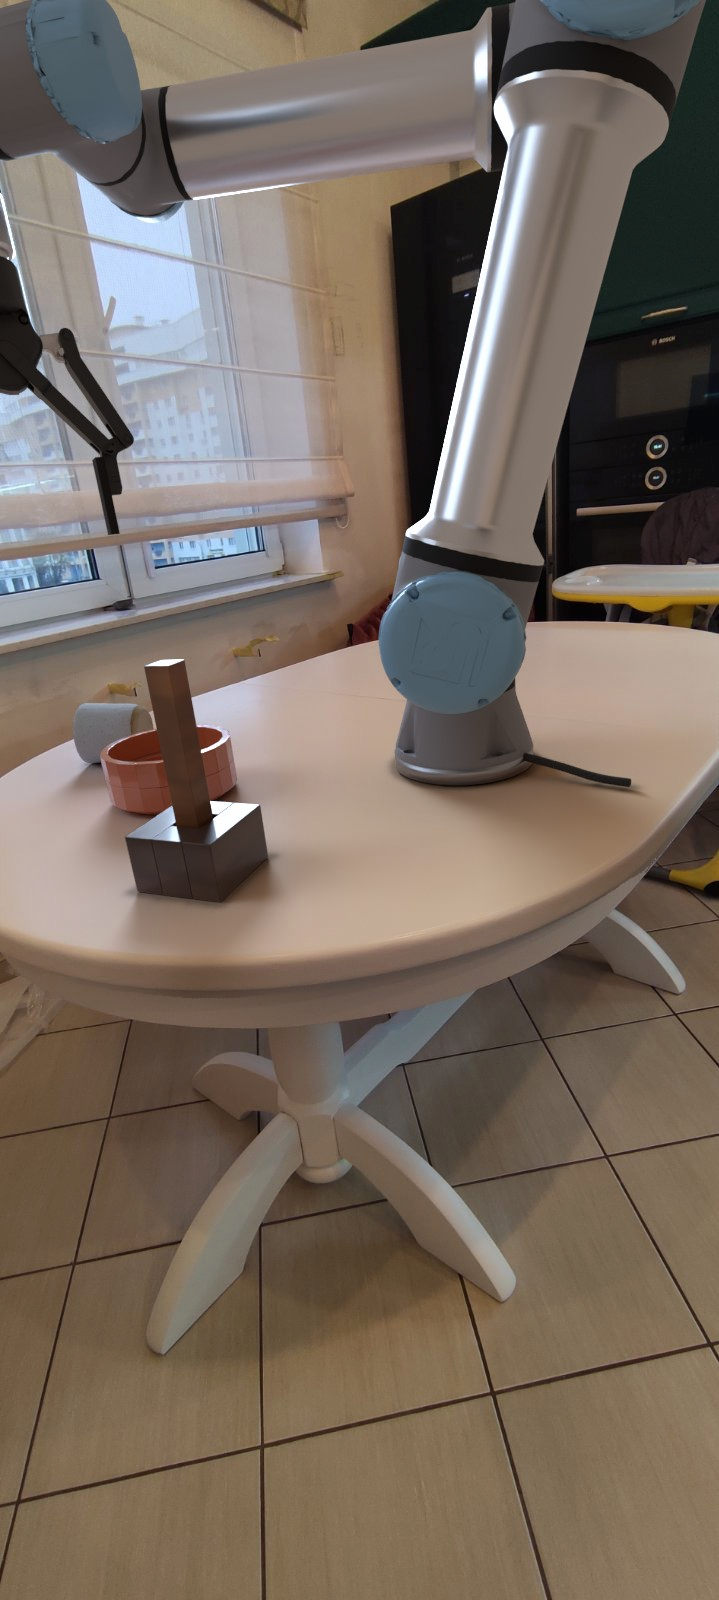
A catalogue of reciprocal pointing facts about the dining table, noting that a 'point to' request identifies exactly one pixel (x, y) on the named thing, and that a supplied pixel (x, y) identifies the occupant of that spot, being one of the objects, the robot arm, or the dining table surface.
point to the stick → (179, 742)
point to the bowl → (162, 769)
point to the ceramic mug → (106, 726)
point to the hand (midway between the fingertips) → (37, 543)
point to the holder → (198, 852)
